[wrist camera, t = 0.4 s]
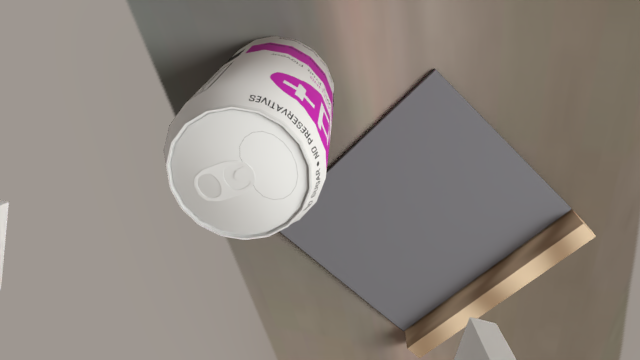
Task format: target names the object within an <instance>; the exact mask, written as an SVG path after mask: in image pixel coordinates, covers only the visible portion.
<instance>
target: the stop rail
mask: <svg viewBox="0 0 640 360" xmlns="http://www.w3.org/2000/svg"><path fill="white" fill-rule="evenodd" d="M594 237H596V236H595V234H594V233H593V232H592V231H591V230H590V228H589V227H588V226H587V225H586V223H585V222H584V221H583V220H582V219H581V218H580V217H579V216H578V215H577V214H576V213H575V212H574V211H573V210H572V209H571V210H570V211H568V212H567V213H566V214H564V215H563V216H561V217H560V218H559V219H557V220H556V221H555V222H553V223H552V224H550V225H549V226H548V227H546V228H545V229H544V230H542V231H541V232H539V233H538V234H537V235H535V236H534V237H533V238H531V239H530V240H528V241H527V242H526V243H524V244H523V245H522V246H520V247H519V248H517V249H516V250H515V251H513V252H512V253H511V254H509V255H508V256H506V257H505V258H504V259H502V260H501V261H500V262H498V263H497V264H495V265H494V266H493V267H491V268H490V269H489V270H487V271H486V272H484V273H483V274H482V275H480V276H479V277H478V278H476V279H475V280H473V281H472V282H471V283H469V284H468V285H466V286H465V287H464V288H462V289H461V290H460V291H458V292H457V293H455V294H454V295H453V296H451V297H450V298H449V299H447V300H446V301H444V302H443V303H442V304H440V305H439V306H438V307H436V308H435V309H433V310H432V311H431V312H429V313H428V314H427V315H425V316H424V317H422V318H421V319H420V320H418V321H417V322H416V323H414V324H413V325H411V326H410V327H409V328H407V329H406V330H405V336H406V343H407V349H409V350H410V351H411V352H412V353H414V354H415V355H416V356H417V357H419V358H421V357H422V356H424V355H425V354H426V353H428V352H429V351H431V350H432V349H434V348H435V347H437V346H438V345H439V344H441V343H442V342H444V341H445V340H447V339H448V338H450V337H451V336H452V335H454V334H455V333H457V332H458V331H460V330H461V329H463V328H464V327H465V326H467V323H468V320H469V318H470V317H472V318H476V319H477V318H479V317H480V316H481V315H483V314H484V313H486V312H487V311H489V310H490V309H492V308H493V307H494V306H496V305H497V304H499V303H500V302H502V301H503V300H505V299H506V298H507V297H509V296H510V295H512V294H513V293H515V292H516V291H518V290H519V289H520V288H522V287H523V286H525V285H526V284H528V283H529V282H531V281H532V280H534V279H535V278H536V277H538V276H539V275H541V274H542V273H544V272H545V271H547V270H548V269H549V268H551V267H552V266H554V265H555V264H557V263H558V262H560V261H561V260H562V259H564V258H565V257H567V256H568V255H570V254H571V253H573V252H574V251H576V250H577V249H578V248H580V247H581V246H583V245H584V244H586V243H587V242H589V241H590V240H591V239H593V238H594Z"/></svg>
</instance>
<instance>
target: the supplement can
mask: <svg viewBox="0 0 640 360" xmlns="http://www.w3.org/2000/svg"><path fill="white" fill-rule="evenodd" d="M333 107H334V83H333V81H332V78H331V75H330V73H329V70H328V67H327V65H326V64H325V63H324V62H323V60H322V59H321V58H320V57H319V56H318V54H317V53H316V52H315V51H314V50H313V49H311V48H309V47H308V46H306V45H304V44H303V43H301V42H299V41H297V40H296V39H290V38H284V37H279V36H272V37H267V38H262V39H256V40H254V41H252V42H251V43H249V44H248V45H246V46H244V47H243V48H241V49H240V50H238V51H237V52H236V53H235V54H234V55H233V56H232V57H231V58H230V59H229V60H228V61H227V62H226V63H225V64H224V65H223V66H222V67H221V68H220V69H219V70H218V71H217V72H216V73H215V74H214V75H213V76H212V77H211V78H210V79H209V80H208V81H207V82H206V83H205V84H204V85H203V86H202V87H201V88H200V89H199V90H198V91H197V92H196V93H195V94H194V95H193V96H192V97H191V98H190V99H189V100H188V101H187V102H186V103H185V104H184V106H183V107H182V109H181V110H180V111H179V113H178V114H177V116H176V117H175V118H174V120H173V121H172V122H171V124H170V125H169V130H168V134H167V138H166V143H165V148H164V155H165V162H166V168H167V174H168V181H169V186H170V189H171V191H172V193H173V195H174V197H175V198H176V200H177V202H178V204H179V206H180V207H181V209H182V210H183V211H184V212H185V213H187V215H189V216H190V217H191V218H192V219H193V220H194V221H195V222H196V223H197V224H198V225H199V226H202V227H204V228H206V229H208V230H210V231H212V232H214V233H216V234H218V235H220V236H224V237H230V238H236V239H242V240H248V239H256V238H263V237H269V236H271V235H273V234H275V233H277V232H279V231H281V230H283V229H285V228H287V227H288V226H289V225H290V224H292V223H294V222H296V221H298V220H300V219H301V218H302V217H303V216H304V214H305V213H306V212H307V211H308V210H309V209H310V208H311V207H312V206H313V205H314V204H315V203H316V202H317V199H318V197H319V194H320V192H321V189H322V187H323V184H324V181H325V179H326V171H327V162H328V153H329V144H330V134H331V125H332V116H333Z"/></svg>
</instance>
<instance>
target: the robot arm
mask: <svg viewBox="0 0 640 360" xmlns="http://www.w3.org/2000/svg"><path fill="white" fill-rule="evenodd" d="M8 204H9V202H7V201H3V200H0V290H1V281H2V270H3V258H4V248H5V238H6V227H7V216H8ZM454 360H516V358H515V357H514V355H513V353H512V351H511V349H510V348H509V346H508V344H507V342H506V340H505V339H504V337H503V335H502V333H501V331H500V330H499V328H498V326H497V324H496V323H492V322H488V321H484V320H480V319H476V318H472V317H470V318H469V320H468V323H467V326H466V328H465V331H464V334H463V337H462V339H461V342H460V345H459V348H458V350H457V353H456V356H455V359H454Z"/></svg>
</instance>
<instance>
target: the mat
mask: <svg viewBox="0 0 640 360" xmlns="http://www.w3.org/2000/svg"><path fill="white" fill-rule="evenodd" d="M570 210H571V208H570V207H569V206H568V205H567V203H566V202H565V201H564V200H563V199H562V198H561V197H560V196H559V195H558V194H557V193H556V192H555V191H554V190H553V189H552V188H551V187H550V186H549V185H548V184H547V183H546V182H545V181H544V180H543V179H542V178H541V177H540V176H539V175H538V174H537V173H536V172H535V171H534V170H533V169H532V168H531V167H530V166H529V165H528V164H527V163H526V162H525V160H524V159H523V158H522V157H521V156H520V155H519V154H518V153H517V152H516V151H515V150H514V149H513V148H512V147H511V146H510V145H509V144H508V143H507V142H506V141H505V140H504V139H503V138H502V137H501V136H500V135H499V134H498V133H497V132H496V131H495V130H494V129H493V128H492V127H491V126H490V125H489V124H488V123H487V122H486V121H485V120H484V119H483V117H482V116H481V115H480V114H479V113H478V112H477V111H476V110H475V109H474V108H473V107H472V106H471V105H470V104H469V103H468V102H467V101H466V100H465V99H464V98H463V97H462V96H461V95H460V94H459V93H458V92H457V91H456V90H455V89H454V88H453V87H452V86H451V85H450V84H449V83H448V82H447V81H446V80H445V79H444V78H443V77H442V75H441V74H440V73H439V72H438V71H437V70H436V69H434V70H433V71H432V72H431V73H430V74H429V75H428V76H427V77H426V78H424V79H423V80H422V81H421V82H420V83H419V84H418V85H417V86H416V87H415V88H414V89H413V90H412V91H411V92H410V93H409V94H408V95H407V96H405V97H404V98H403V99H402V100H401V101H400V102H399V103H398V104H397V105H396V106H395V107H394V108H393V109H392V110H391V111H390V112H389V113H388V114H386V115H385V116H384V117H383V118H382V119H381V120H380V121H379V122H378V123H377V124H376V125H375V126H374V127H373V128H372V129H371V130H370V131H369V132H368V133H366V134H365V135H364V136H363V137H362V138H361V139H360V140H359V141H358V142H357V143H356V144H355V145H354V146H353V147H352V148H351V149H350V150H349V151H347V152H346V153H345V154H344V155H343V156H342V157H341V158H340V159H339V160H338V161H337V162H336V163H335V164H334V165H333V166H332V167H331V168H330V169H328V170H327V171H326V179H325V181H324V184H323V187H322V189H321V192H320V194H319V197H318V199H317V202H316V203H315V204H314V205H313V206H312V207H311V208H310V209H309V210H308V211H307V212H306V213H305V214H304V216H303V217H302V218H301V219H300V220H298V221H296V222H294V223H292V224H290V225H289V226H288V227H287V228H285V229H283V230H281V231H280V232H281V233H282V234H283V235H285V236H286V237H287V238H288V239H290V240H291V241H292V242H293V243H295V244H296V245H297V246H298V247H300V248H301V249H302V250H303V251H305V252H306V253H307V254H308V255H309V256H311V257H312V258H313V259H314V260H316V261H317V262H318V263H319V264H321V265H322V266H323V267H324V268H326V269H327V270H328V271H329V272H331V273H332V274H333V275H334V276H336V277H337V278H338V279H339V280H341V281H342V282H343V283H344V284H346V285H347V286H348V287H349V288H350V289H352V290H353V291H354V292H355V293H357V294H358V295H359V296H360V297H362V298H363V299H364V300H365V301H367V302H368V303H369V304H370V305H372V306H373V307H374V308H375V309H377V310H378V311H379V312H380V313H382V314H383V315H384V316H385V317H387V318H388V319H389V320H390V321H391V322H393V323H394V324H395V325H396V326H398V327H399V328H400V329H401V330H403V331H405V330H406V329H407V328H409V327H410V326H411V325H413V324H414V323H416V322H417V321H418V320H420V319H421V318H422V317H424V316H425V315H427V314H428V313H429V312H431V311H432V310H433V309H435V308H436V307H438V306H439V305H440V304H442V303H443V302H444V301H446V300H447V299H449V298H450V297H451V296H453V295H454V294H455V293H457V292H458V291H460V290H461V289H462V288H464V287H465V286H466V285H468V284H469V283H471V282H472V281H473V280H475V279H476V278H478V277H479V276H480V275H482V274H483V273H484V272H486V271H487V270H489V269H490V268H491V267H493V266H494V265H495V264H497V263H498V262H500V261H501V260H502V259H504V258H505V257H506V256H508V255H509V254H511V253H512V252H513V251H515V250H516V249H517V248H519V247H520V246H522V245H523V244H524V243H526V242H527V241H528V240H530V239H531V238H533V237H534V236H535V235H537V234H538V233H539V232H541V231H542V230H544V229H545V228H546V227H548V226H549V225H550V224H552V223H553V222H555V221H556V220H557V219H559V218H560V217H561V216H563V215H564V214H566V213H567V212H568V211H570Z"/></svg>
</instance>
